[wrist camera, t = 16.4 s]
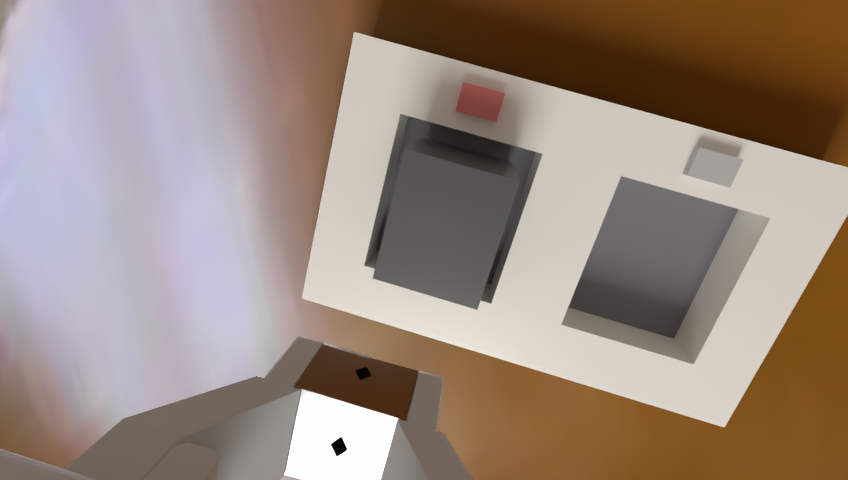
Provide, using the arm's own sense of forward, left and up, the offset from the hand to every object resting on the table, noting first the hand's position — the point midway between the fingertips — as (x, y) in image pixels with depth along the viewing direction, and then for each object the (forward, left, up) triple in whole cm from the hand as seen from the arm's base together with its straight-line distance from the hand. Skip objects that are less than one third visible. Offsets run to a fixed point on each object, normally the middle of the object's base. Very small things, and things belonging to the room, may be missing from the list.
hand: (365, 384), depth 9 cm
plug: (-1, -1, -16) cm, 16 cm away
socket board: (-5, -1, -16) cm, 17 cm away
